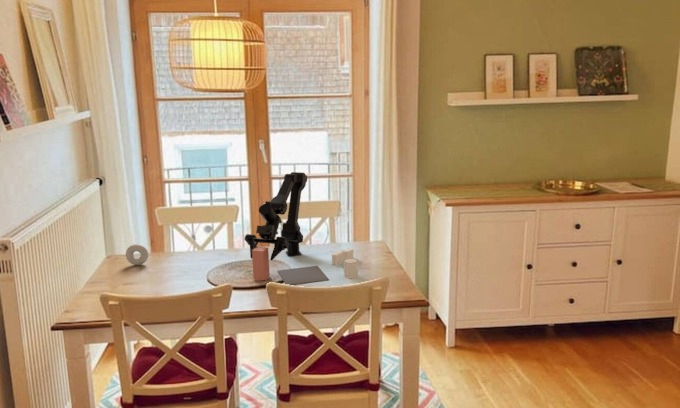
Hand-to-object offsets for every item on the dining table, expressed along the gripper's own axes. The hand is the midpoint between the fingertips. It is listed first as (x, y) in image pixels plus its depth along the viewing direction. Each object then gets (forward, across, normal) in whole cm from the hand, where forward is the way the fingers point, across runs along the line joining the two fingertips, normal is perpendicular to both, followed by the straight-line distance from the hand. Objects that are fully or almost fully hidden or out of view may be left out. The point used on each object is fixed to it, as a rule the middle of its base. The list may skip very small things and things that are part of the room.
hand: (261, 259), depth 244 cm
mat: (+1, +15, +11) cm, 19 cm away
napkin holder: (-14, +27, +26) cm, 40 cm away
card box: (+6, 0, +6) cm, 8 cm away
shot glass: (-3, +36, +15) cm, 38 cm away
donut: (+6, -62, +6) cm, 63 cm away
